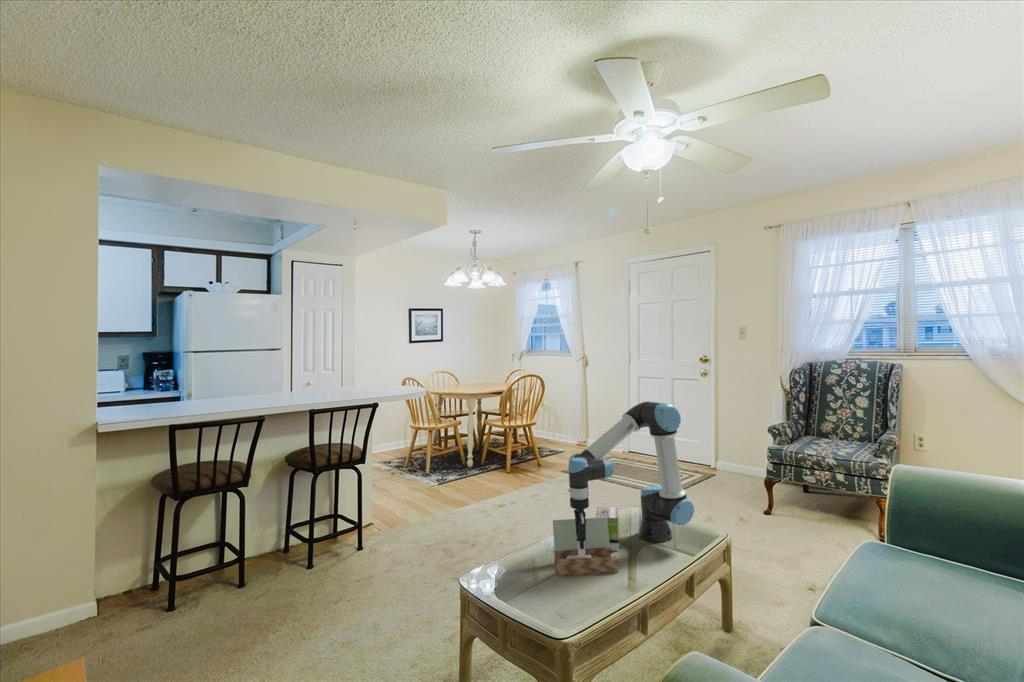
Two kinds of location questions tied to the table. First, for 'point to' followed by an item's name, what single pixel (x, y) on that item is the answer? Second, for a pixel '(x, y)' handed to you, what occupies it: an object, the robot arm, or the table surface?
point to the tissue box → (586, 562)
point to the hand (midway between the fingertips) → (581, 555)
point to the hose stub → (578, 557)
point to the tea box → (611, 525)
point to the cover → (568, 539)
